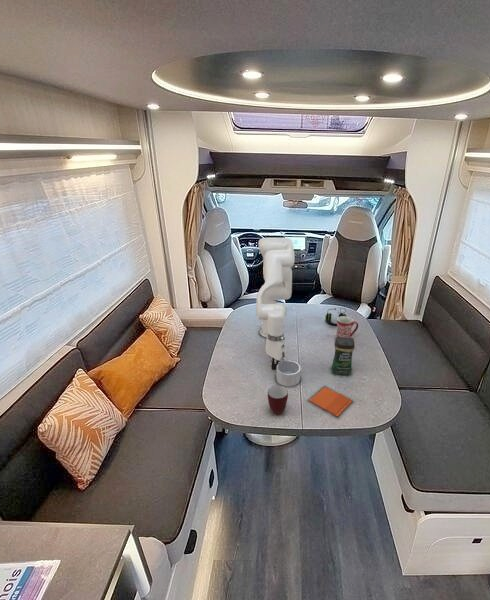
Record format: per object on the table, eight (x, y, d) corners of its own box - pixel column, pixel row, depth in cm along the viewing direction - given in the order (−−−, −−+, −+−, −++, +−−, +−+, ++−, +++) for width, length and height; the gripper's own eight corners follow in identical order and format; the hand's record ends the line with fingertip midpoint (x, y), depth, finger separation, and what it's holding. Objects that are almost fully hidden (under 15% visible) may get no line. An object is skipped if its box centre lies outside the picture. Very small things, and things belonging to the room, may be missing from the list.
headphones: (346, 302, 210) (354, 315, 192) (345, 315, 214) (353, 329, 195) (323, 302, 208) (329, 316, 190) (322, 315, 212) (328, 329, 194)
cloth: (309, 400, 135) (309, 399, 134) (325, 387, 143) (325, 386, 143) (337, 416, 126) (337, 415, 126) (352, 401, 135) (352, 400, 135)
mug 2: (336, 344, 178) (339, 323, 173) (333, 336, 187) (335, 316, 181) (358, 344, 179) (361, 323, 174) (354, 336, 188) (356, 316, 182)
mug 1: (266, 400, 134) (267, 381, 130) (285, 399, 135) (286, 381, 131) (268, 419, 124) (268, 399, 120) (288, 417, 125) (289, 398, 121)
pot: (271, 379, 147) (271, 367, 145) (286, 368, 155) (287, 357, 153) (289, 389, 141) (290, 377, 138) (304, 378, 149) (305, 366, 146)
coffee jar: (332, 375, 152) (335, 342, 144) (331, 365, 159) (334, 333, 152) (352, 376, 151) (356, 343, 144) (350, 366, 158) (354, 335, 151)
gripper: (292, 338, 143) (291, 371, 150) (269, 327, 152) (269, 359, 159) (281, 344, 138) (281, 378, 145) (258, 333, 147) (258, 365, 154)
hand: (275, 368), depth 152 cm, fingers closed
